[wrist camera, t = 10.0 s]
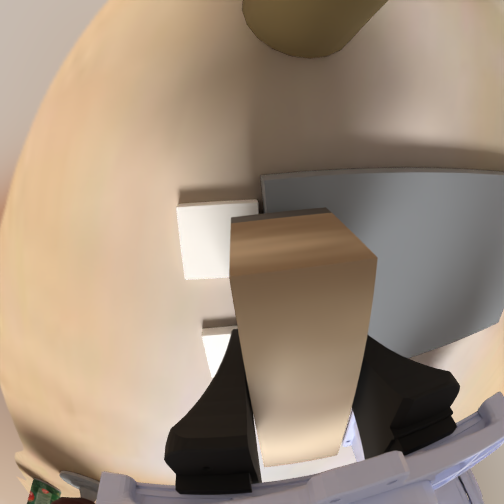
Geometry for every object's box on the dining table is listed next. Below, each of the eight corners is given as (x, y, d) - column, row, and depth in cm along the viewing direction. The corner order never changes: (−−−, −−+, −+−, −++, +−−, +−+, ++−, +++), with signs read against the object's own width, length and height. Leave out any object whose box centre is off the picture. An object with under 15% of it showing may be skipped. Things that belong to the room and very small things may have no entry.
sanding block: (319, 391, 17) (337, 455, 12) (257, 400, 17) (264, 467, 12) (325, 207, 12) (377, 257, 7) (230, 217, 12) (229, 276, 7)
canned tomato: (28, 474, 35) (19, 507, 25) (53, 484, 36) (45, 519, 26) (42, 485, 38) (35, 516, 28) (66, 495, 39) (59, 527, 29)
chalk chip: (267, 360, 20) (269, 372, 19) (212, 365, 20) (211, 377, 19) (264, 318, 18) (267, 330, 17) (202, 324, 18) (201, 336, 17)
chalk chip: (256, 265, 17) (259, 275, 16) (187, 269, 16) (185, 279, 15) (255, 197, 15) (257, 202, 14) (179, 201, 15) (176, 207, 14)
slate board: (489, 314, 21) (498, 322, 19) (276, 373, 20) (279, 388, 19) (521, 173, 15) (533, 178, 14) (260, 175, 14) (264, 180, 13)
